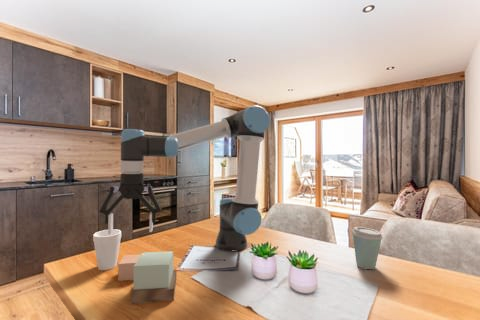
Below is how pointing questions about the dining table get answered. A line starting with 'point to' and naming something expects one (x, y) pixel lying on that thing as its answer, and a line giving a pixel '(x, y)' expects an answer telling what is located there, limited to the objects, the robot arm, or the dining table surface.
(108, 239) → the foam cup
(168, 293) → the walnut base
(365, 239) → the disposable coffee cup
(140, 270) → the sage brick
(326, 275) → the dining table surface
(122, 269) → the beige cube
